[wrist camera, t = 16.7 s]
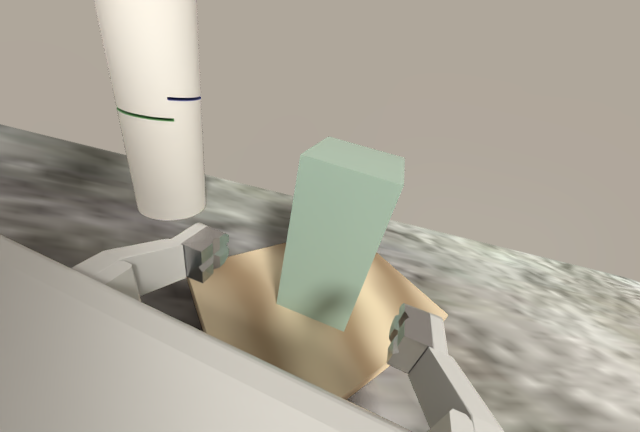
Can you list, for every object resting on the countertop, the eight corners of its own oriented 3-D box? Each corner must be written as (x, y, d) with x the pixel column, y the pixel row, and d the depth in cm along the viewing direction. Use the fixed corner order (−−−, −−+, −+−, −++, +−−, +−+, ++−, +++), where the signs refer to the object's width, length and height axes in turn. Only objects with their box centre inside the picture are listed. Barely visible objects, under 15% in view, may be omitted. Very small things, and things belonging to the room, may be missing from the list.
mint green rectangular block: (343, 331, 18) (403, 185, 12) (276, 303, 19) (300, 154, 13) (356, 281, 23) (404, 157, 17) (302, 261, 24) (328, 136, 18)
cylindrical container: (217, 208, 31) (212, -78, 18) (155, 228, 26) (87, -155, 13) (187, 186, 34) (165, -72, 22) (126, 199, 29) (50, -131, 16)
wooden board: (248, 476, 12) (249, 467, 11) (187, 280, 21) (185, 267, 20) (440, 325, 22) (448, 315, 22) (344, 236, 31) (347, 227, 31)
